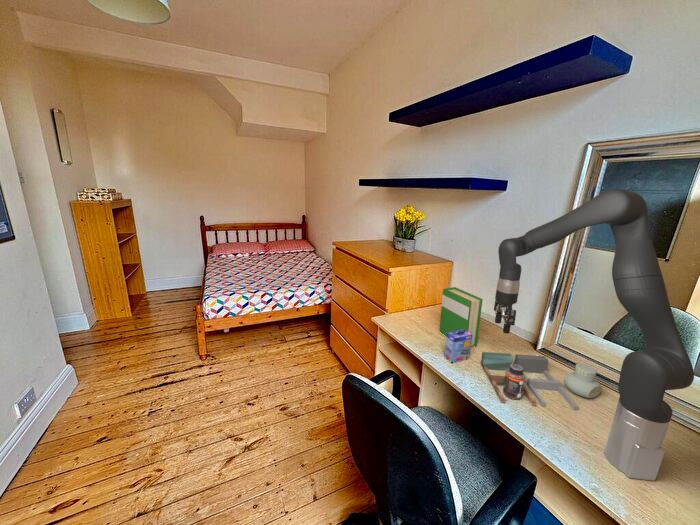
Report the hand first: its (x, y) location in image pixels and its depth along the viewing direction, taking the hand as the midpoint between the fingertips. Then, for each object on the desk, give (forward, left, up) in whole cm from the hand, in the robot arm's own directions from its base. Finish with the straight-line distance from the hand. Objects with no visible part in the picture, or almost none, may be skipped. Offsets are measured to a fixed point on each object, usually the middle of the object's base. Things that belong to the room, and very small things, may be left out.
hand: (501, 327), depth 112 cm
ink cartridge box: (+5, +14, -18) cm, 24 cm away
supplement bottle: (-16, 0, -18) cm, 24 cm away
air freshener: (-11, -25, -18) cm, 33 cm away
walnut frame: (-10, 0, -18) cm, 20 cm away
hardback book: (+22, +10, -18) cm, 31 cm away
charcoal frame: (-10, -13, -18) cm, 24 cm away
